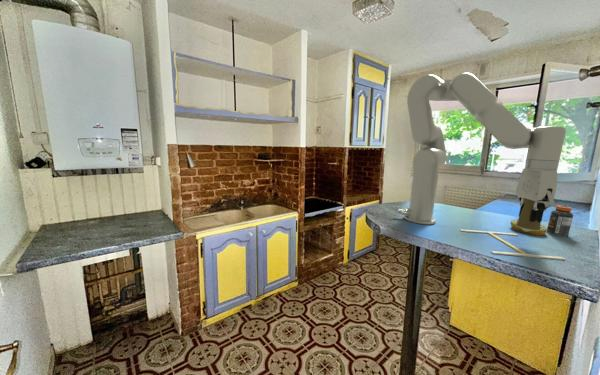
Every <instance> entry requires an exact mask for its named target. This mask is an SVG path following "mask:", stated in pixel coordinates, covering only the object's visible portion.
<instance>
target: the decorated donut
mask: <svg viewBox="0 0 600 375" xmlns="http://www.w3.org/2000/svg"><path fill="white" fill-rule="evenodd" d="M517 221H518V219H512V220H511V221H510V226H511V228H512V229H513V230H514V231H517V232H520V233H524V234H528V235H531V236H540V237H541V236H544V235H546V233H548V232H547V227H546V226H545V225H543V224H542V223H541V224H540V230H531V229H526V228H522V227H519V226H517V225H516V224H517Z"/></svg>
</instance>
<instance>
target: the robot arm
mask: <svg viewBox="0 0 600 375" xmlns="http://www.w3.org/2000/svg"><path fill="white" fill-rule="evenodd" d="M407 93H408V94H407V97H406V98H407V101H406V103H407V111H408V115H409V116H408V117H409V123H410V124H409V125H410V130H411V136H412V139H413V142H414V143H416V144H417V145H420V148H421V149H418V151H417V152H416V153H415V155H414V157H413V161H412V163H413V164H412V165H413V166H412V182H411V189H410V190H411V191H410V198H409V207H406V208H405V209H399V208H398V209H397V210H396V213H397V215H398V214H400V215H402V216H404V218H403V219H405V220H407V221H408V222H411V223H414V224H418V225H435V224H436V223H437V219H436V218H435V217H433V214H434V207H435V201H436V194H437V188H438V181H439V168H442V166H444V164H445V163H446V160H447V151H446V145H445V138H444V134H443V131H442V128H441V127H440V125H438V124H437V123H435V122H434V118H433V111H432V107H431V103H430V101H432V102H433V101H434V102H435V101H436V102H445V101H447V102H448V101H449V102H450V101H451V102H454V101H455V102H456V101H457V102H459V103H460V104H461V105H462V107H464V108H465V109H466V110H467V111H468V112H469V113H470V114H471V115H472V117H474V118H475V120H476V121H478V122H479V123H480V124H481V125H482V126H483V127H484V128H485V129H486V130H487V131H488V132H489V133H490V134H491V135H492V137H493V138H494V139H496V140H497V142H499V144H500V145H502V146H503V147H504V148H507V149H512V150H517V149H528V152H527V156H526V160H525V166H524V167H523V169H522V170H521V173H520V176H519V179H518V182H517V185H516V188H515V196H517V198H518V200H519V206H520V207H519V213H518V217H519V216H520V214H521V211H522V209H523V206H524V202H523V198H525V199H528V200H532V201H534V210H531V214H530V219H529V221H531V222H534V221H536V220H537V222H542V221H543V215H544V212H546V211H547V209H549V207H553V206H554V205H555V201H554V199H555V197H556V192H557V186H558V168H559V163H560V160H561V157H562V156H561V155H562V150H563V146H564V142H565V138H566V133H567V130H566V128H565V127H564V126H557V125H548V126H547V125H545V126H538V127H527V126H525V124H523V123H522V122H521V121H520V120H519V119H518V118H517V117H516V116H515V115H514V114H513V113H512V112H511V111H510V110H509V109H508V108H507V107H506V106H505V105H504V103H502V101H501V100H500V99H499V98H498V97H497V96H496V95H495V94H494V93H493V92H492V91H491V90H490V89H489V88H488V87H487V86H486V85H484V83H482V81H481V80H479V79H478V78H477V77H476V76H475V75H474V74H473V73H470V72H462V73H459V74H457V75H456V76H455V77H454V78H451V79H442V78H441V77H439V76H437V75H435V74H430V73H429V74H423V75H422V76H420V77H418V78H417V79H416V80H415V81H414V82H413V84H411V86H410V88H409V90H408V92H407ZM542 199H543V201H539V200H542ZM539 203H542V204H540V205H539Z"/></svg>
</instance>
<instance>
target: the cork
mask: <svg viewBox="0 0 600 375" xmlns="http://www.w3.org/2000/svg"><path fill="white" fill-rule="evenodd" d="M539 201H543V199H542V200H539ZM523 202H524V206H523V209H522V211H521V214H520V216H519V215H518V219H517V220H518V221H517V224H516V225H517V226H519V227H522V228H526V229H531V230H540V224H541V225H542V223H541V222H542V221H541V222H537V220H536V221H534V222H531V221H529V219H530V214H531V210H534V201H532V200H528V199H525V198H523ZM540 204H542V203H539V205H540Z"/></svg>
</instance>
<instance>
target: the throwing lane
mask: <svg viewBox="0 0 600 375" xmlns="http://www.w3.org/2000/svg"><path fill="white" fill-rule="evenodd" d="M459 231H460V232H463V233H464V232H465V233H479V234H487V235H490V236H491V237H493V238H494V239H497V240H498V241H499V242H501V243H503V244H505V245H506V246H507V247H510V248H511V249H513V250H514V251H516V252H507V251H497V250H495V251H494V250H490V254H493V255H501V256H502V255H504V256H511V257H512V256H513V257H514V256H515V257H524V258H538V259H549V260H557V261H558V260H560V261H561V260H562V261H566V258H564V257H563V256H555V255H543V254H542V255H541V254H531V253H527V252H525V251H524V250H522V249H520V248H518V247H516V246H515V245H513V244H511V243H510V242H508V241H506V240H504V239H502V238H501V237H500V236H498V235H504V236H516V237H518V236H519V234H517V233H514V232H513V233H511V232H500V231H499V232H498V231H485V230H474V229H472V230H471V229H462V228H460V229H459Z"/></svg>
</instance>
